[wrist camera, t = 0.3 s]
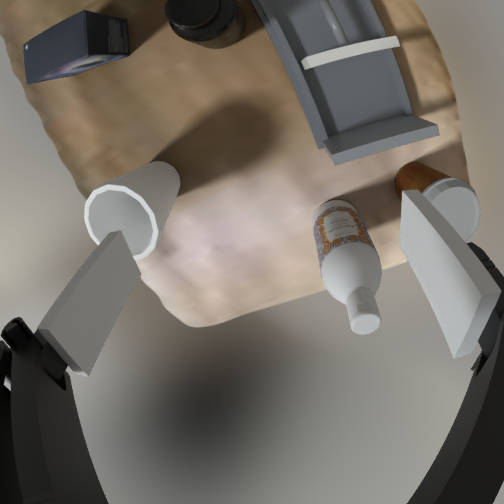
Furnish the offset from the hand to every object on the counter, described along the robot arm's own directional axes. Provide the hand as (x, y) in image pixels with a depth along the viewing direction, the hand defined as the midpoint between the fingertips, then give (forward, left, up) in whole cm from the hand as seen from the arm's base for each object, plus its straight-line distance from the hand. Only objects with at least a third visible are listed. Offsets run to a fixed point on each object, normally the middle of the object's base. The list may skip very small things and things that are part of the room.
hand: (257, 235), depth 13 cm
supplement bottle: (-16, 0, -27) cm, 31 cm away
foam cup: (0, -17, -27) cm, 32 cm away
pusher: (-9, +12, -25) cm, 29 cm away
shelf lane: (-13, +12, -26) cm, 32 cm away
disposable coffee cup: (+13, +17, -27) cm, 34 cm away
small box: (-23, -16, -27) cm, 39 cm away
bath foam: (+15, +4, -27) cm, 31 cm away
